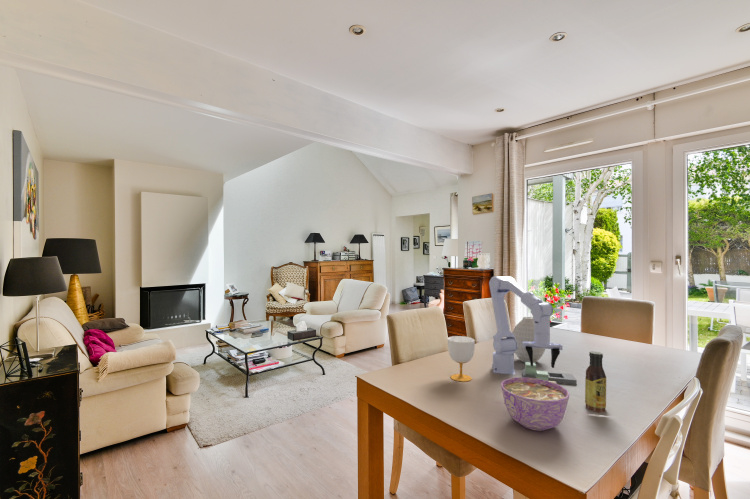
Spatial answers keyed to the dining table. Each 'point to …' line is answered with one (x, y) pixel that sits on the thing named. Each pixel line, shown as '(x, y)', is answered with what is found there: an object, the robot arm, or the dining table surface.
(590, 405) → the sauce bottle
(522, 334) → the vase
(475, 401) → the dining table surface
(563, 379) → the gray fixture base
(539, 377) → the plug
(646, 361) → the dining table surface
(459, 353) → the cup
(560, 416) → the bowl of food
